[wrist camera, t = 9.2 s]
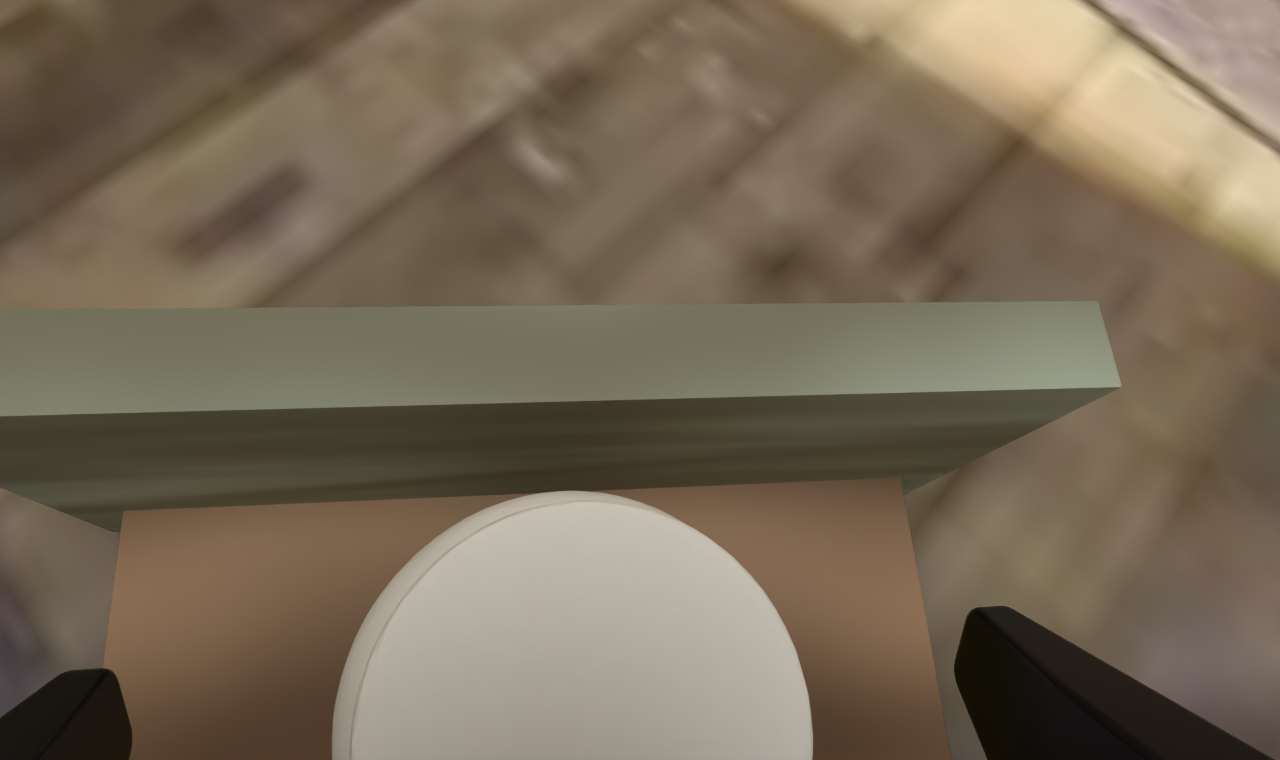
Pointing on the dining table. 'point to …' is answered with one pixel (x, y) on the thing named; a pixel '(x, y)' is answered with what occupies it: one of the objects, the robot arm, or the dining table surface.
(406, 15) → the dining table surface
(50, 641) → the dining table surface
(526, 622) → the supplement bottle
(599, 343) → the wall board ledge
